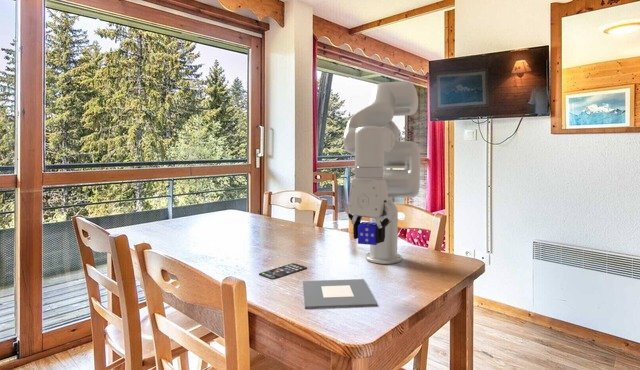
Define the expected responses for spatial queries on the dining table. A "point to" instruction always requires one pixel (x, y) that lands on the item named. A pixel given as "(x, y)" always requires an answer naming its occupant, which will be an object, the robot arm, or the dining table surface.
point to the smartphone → (282, 271)
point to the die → (367, 233)
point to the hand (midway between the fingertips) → (368, 239)
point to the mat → (337, 293)
